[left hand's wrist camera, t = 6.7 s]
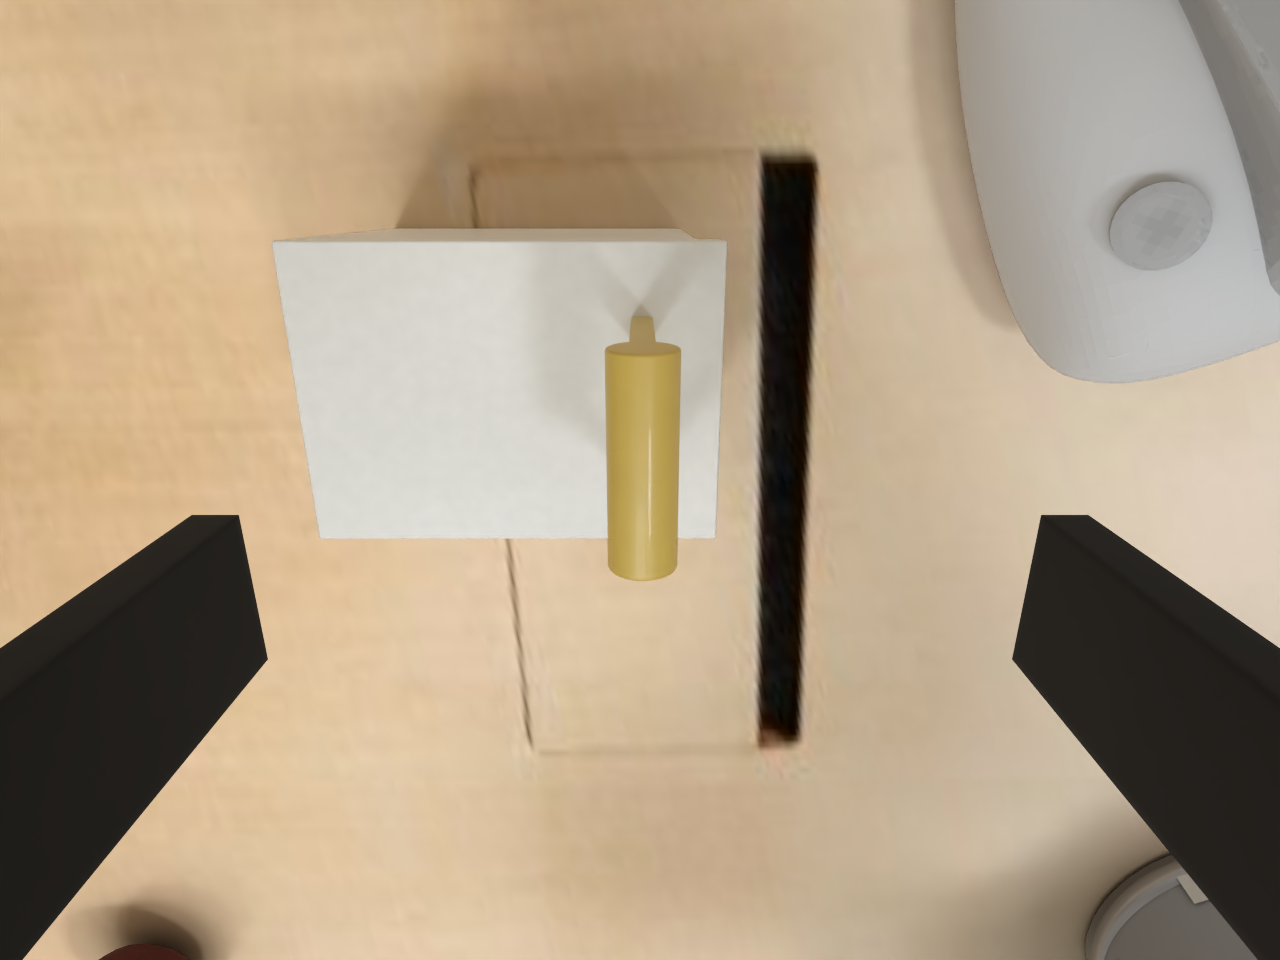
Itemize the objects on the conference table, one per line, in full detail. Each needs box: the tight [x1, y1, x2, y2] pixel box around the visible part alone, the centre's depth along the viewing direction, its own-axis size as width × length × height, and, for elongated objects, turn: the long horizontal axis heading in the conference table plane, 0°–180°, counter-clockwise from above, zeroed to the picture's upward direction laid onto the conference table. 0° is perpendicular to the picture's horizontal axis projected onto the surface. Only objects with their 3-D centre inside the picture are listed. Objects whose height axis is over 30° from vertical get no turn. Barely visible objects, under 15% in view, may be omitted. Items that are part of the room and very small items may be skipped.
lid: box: [272, 239, 727, 581], centre depth 22 cm, size 14×10×8 cm
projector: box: [955, 0, 1280, 383], centre depth 25 cm, size 22×23×15 cm
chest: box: [296, 228, 695, 239], centre depth 31 cm, size 13×10×11 cm
